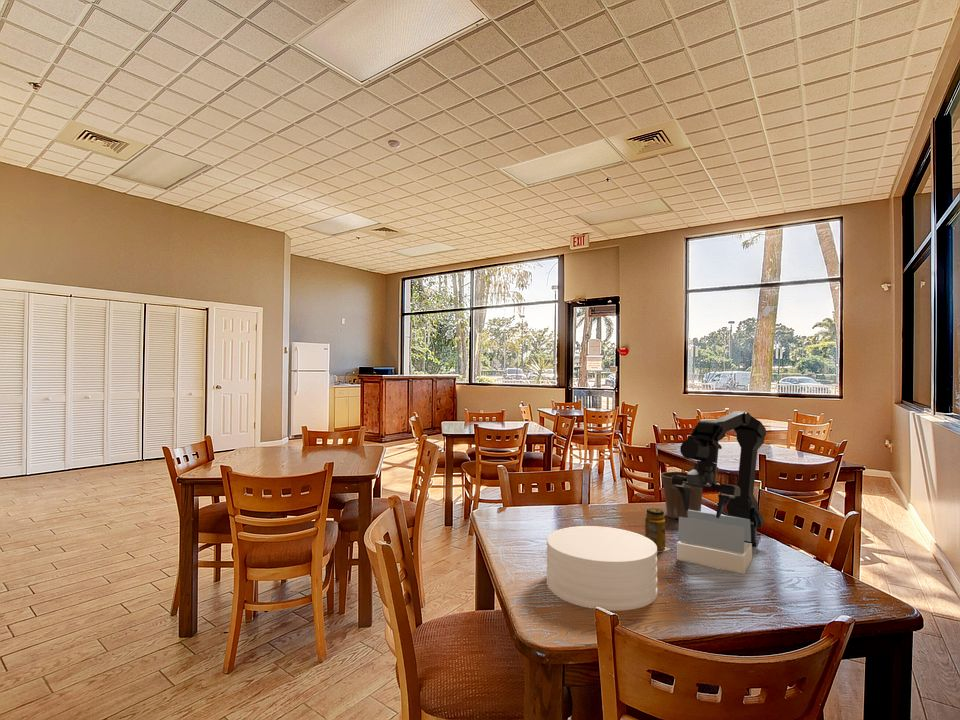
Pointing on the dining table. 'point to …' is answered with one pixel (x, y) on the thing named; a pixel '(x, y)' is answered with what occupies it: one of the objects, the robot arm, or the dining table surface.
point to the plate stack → (602, 567)
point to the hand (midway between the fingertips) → (701, 514)
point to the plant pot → (679, 497)
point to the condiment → (656, 528)
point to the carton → (715, 557)
